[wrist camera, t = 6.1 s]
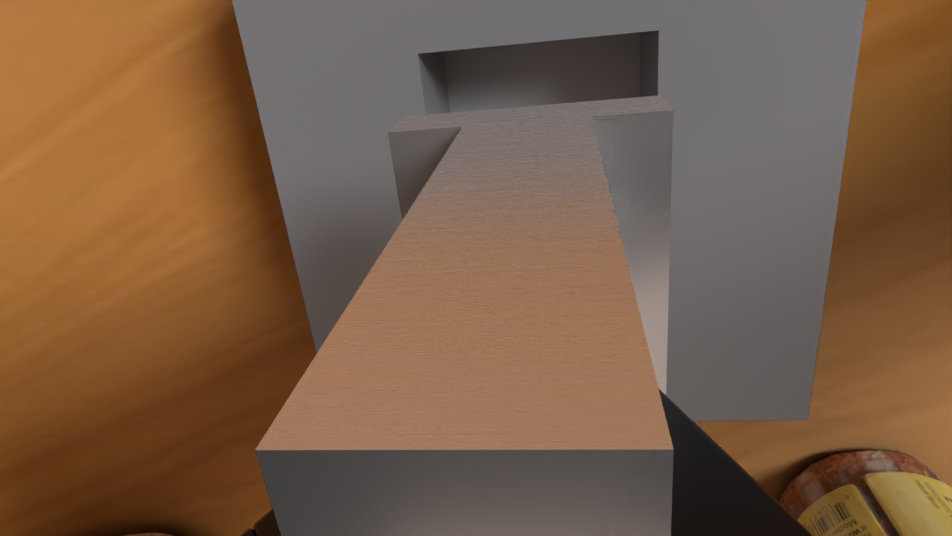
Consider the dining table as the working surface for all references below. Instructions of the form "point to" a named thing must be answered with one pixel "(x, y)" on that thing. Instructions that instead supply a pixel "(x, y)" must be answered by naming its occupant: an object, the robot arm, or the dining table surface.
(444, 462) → the brushed grey block
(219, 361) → the dining table surface
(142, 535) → the stone cup
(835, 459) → the sauce bottle
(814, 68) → the well block
